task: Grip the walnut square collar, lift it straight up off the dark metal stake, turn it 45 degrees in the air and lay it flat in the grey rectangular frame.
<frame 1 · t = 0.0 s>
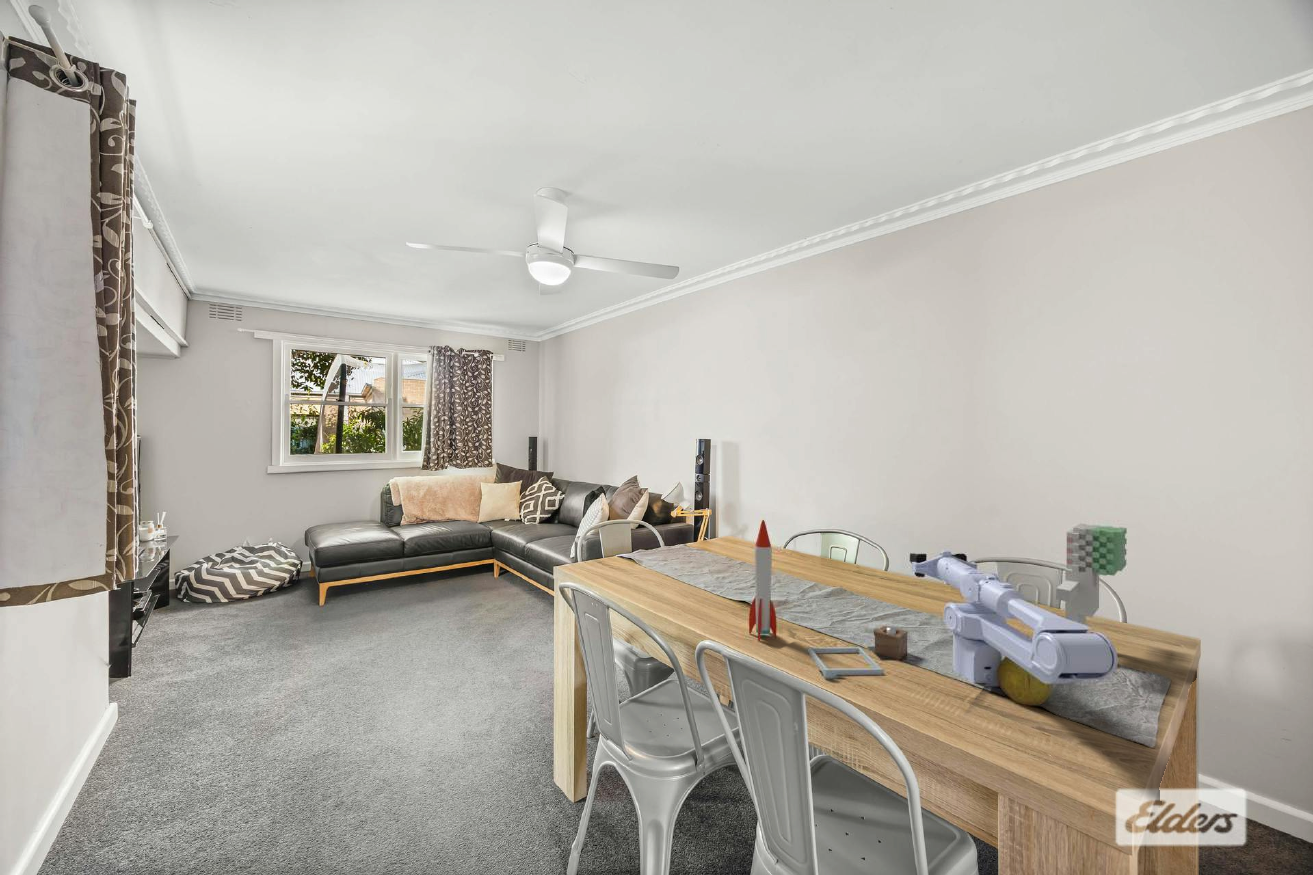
hand: (926, 557, 137), 21 cm above the table, tool horizontal, fingers open, 7 cm apart
fruit: (1022, 700, 108), on the table, touching arm
grey rectangular frame: (843, 666, 122), on the table
stake: (891, 657, 127), on the table
toy rocket: (762, 636, 141), on the table
collar: (891, 652, 127), point 1 cm above the table, touching stake
toy: (1095, 655, 129), on the table
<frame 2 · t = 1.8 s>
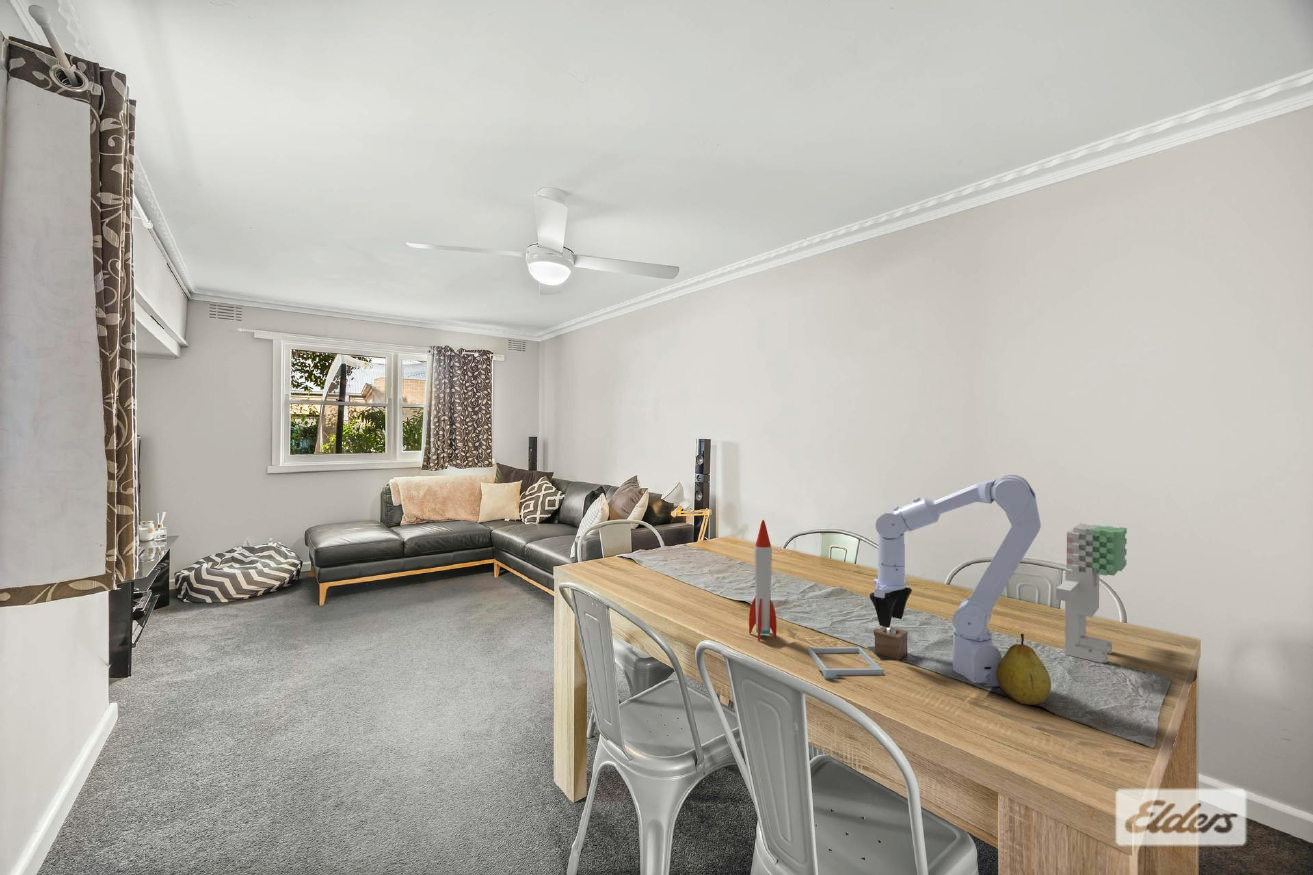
hand: (890, 621, 127), 8 cm above the table, tool pointing down, fingers open, 7 cm apart
fruit: (1023, 699, 108), on the table
everything else where it was.
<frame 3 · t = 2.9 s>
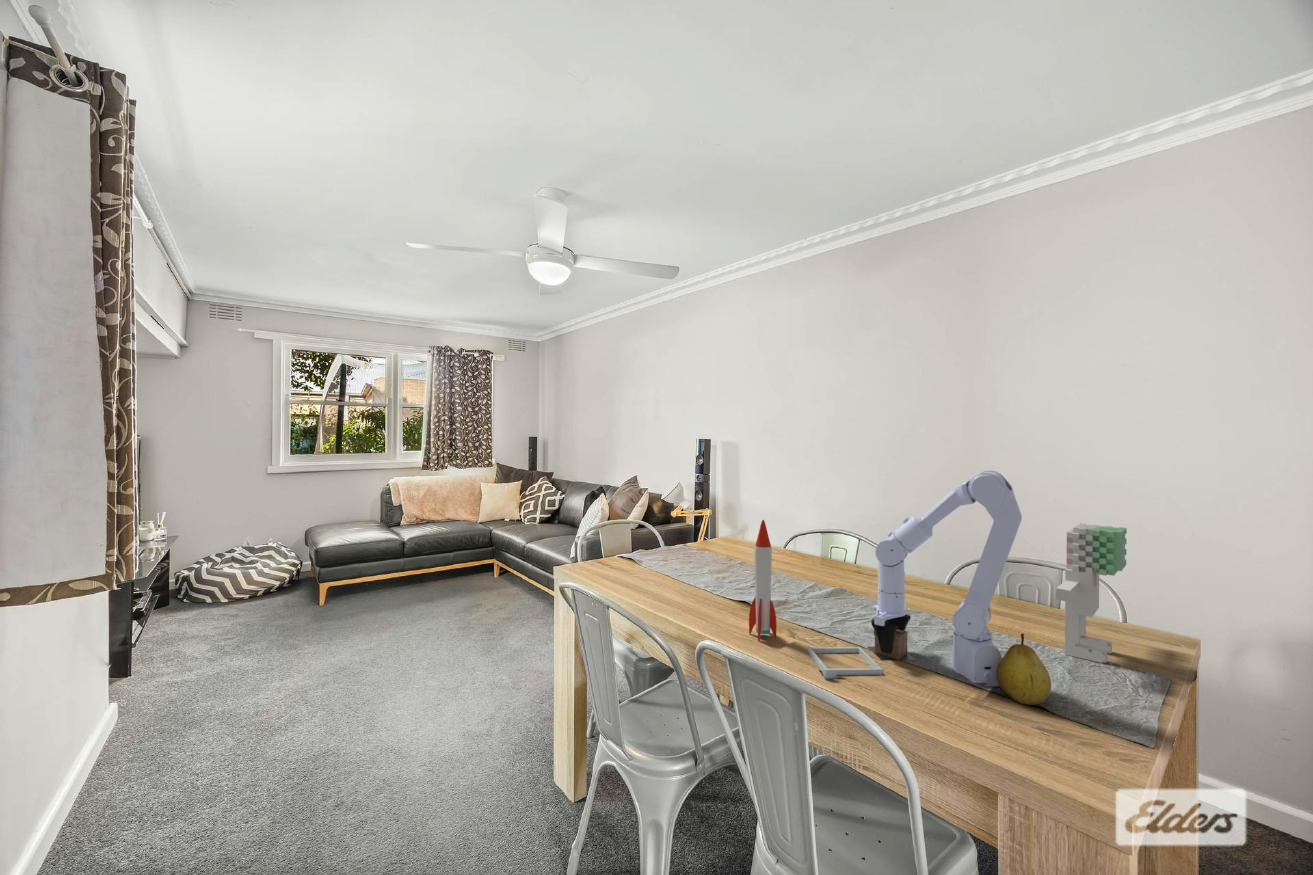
hand: (891, 648, 127), 2 cm above the table, tool pointing down, fingers closed on collar, 5 cm apart
collar: (891, 652, 127), point 1 cm above the table, touching gripper, stake
everything else where it was.
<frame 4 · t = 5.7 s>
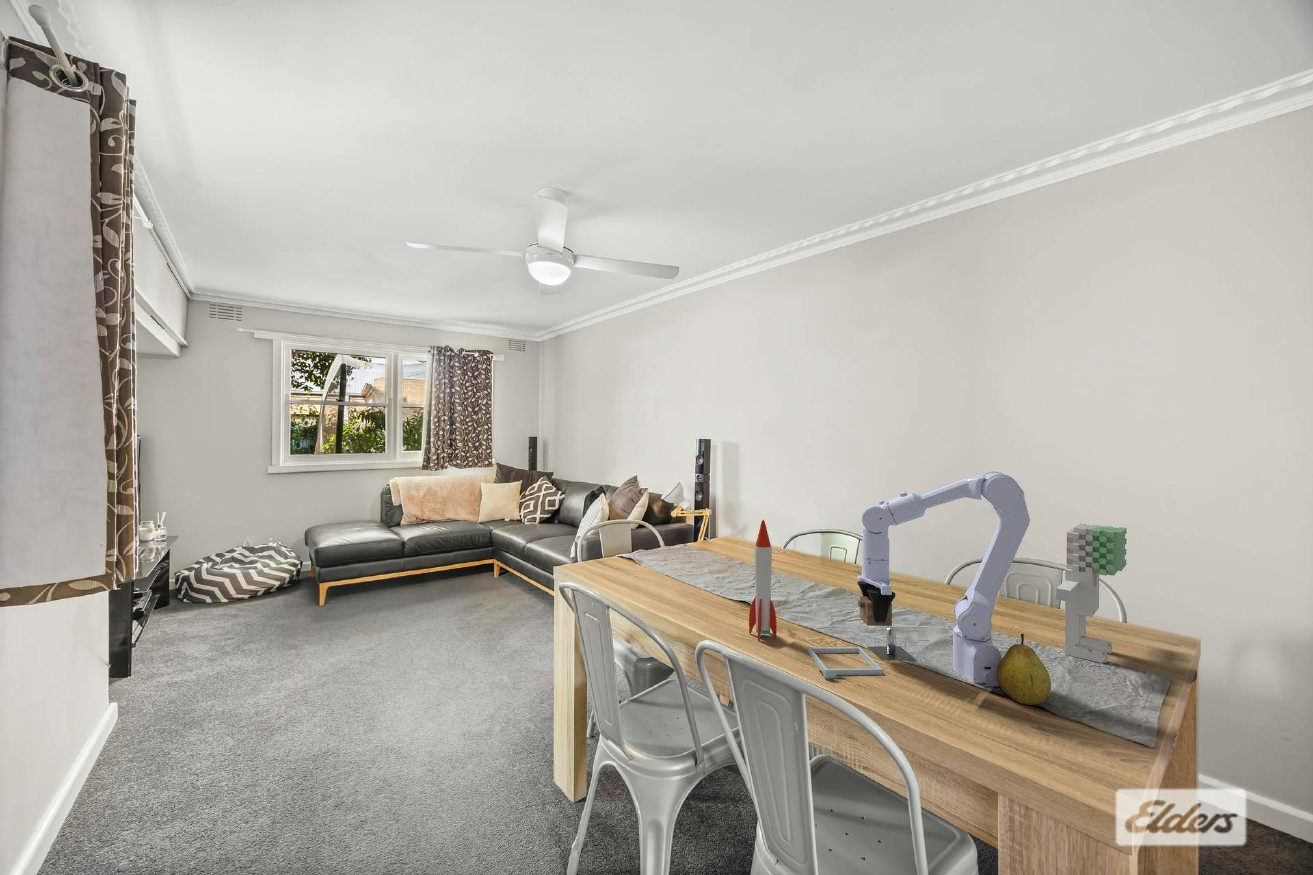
hand: (875, 617, 126), 10 cm above the table, tool pointing down, fingers closed on collar, 5 cm apart
collar: (875, 621, 126), point 9 cm above the table, touching gripper
everything else where it was.
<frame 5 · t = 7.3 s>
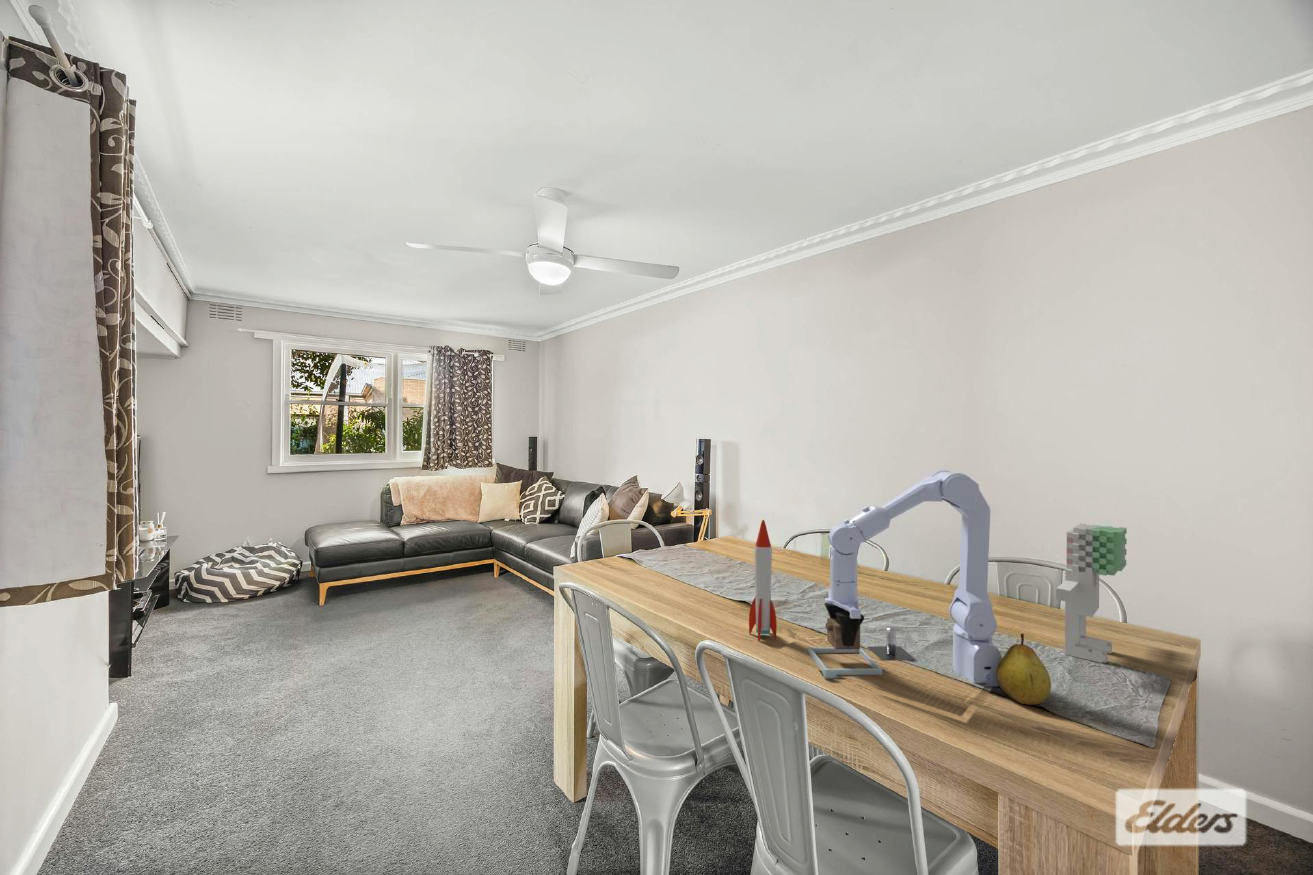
hand: (843, 640, 122), 6 cm above the table, tool pointing down, fingers closed on collar, 5 cm apart
collar: (843, 644, 122), point 5 cm above the table, touching gripper
everything else where it was.
when the fingers open (3 cm above the table, at t = 8.4 s): collar drops 1 cm, resting on grey rectangular frame.
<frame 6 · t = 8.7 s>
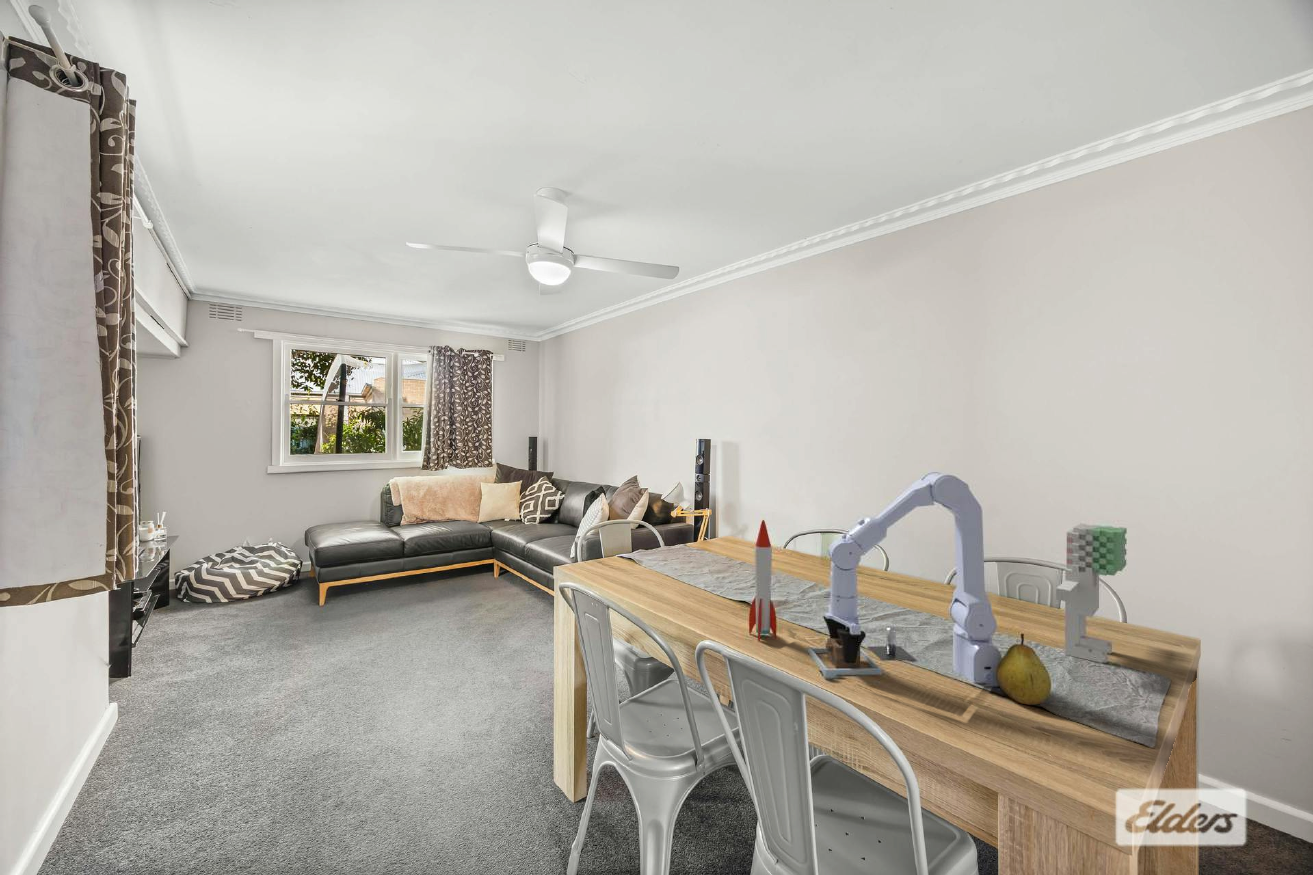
hand: (843, 655, 122), 3 cm above the table, tool pointing down, fingers open, 7 cm apart
collar: (843, 665, 122), resting on grey rectangular frame
everything else where it was.
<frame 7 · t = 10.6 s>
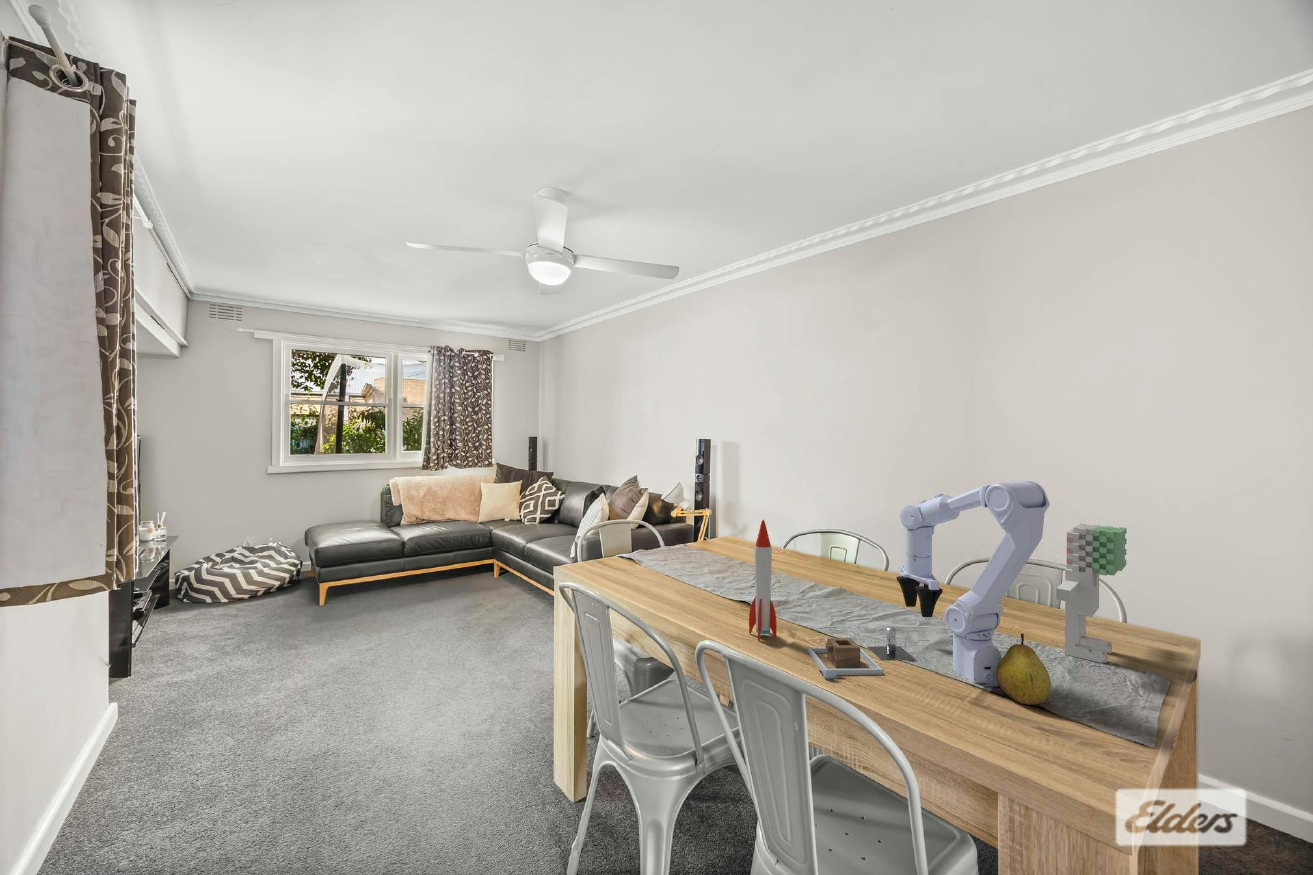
hand: (918, 611, 131), 9 cm above the table, tool pointing down, fingers open, 7 cm apart
nothing on the table moved.
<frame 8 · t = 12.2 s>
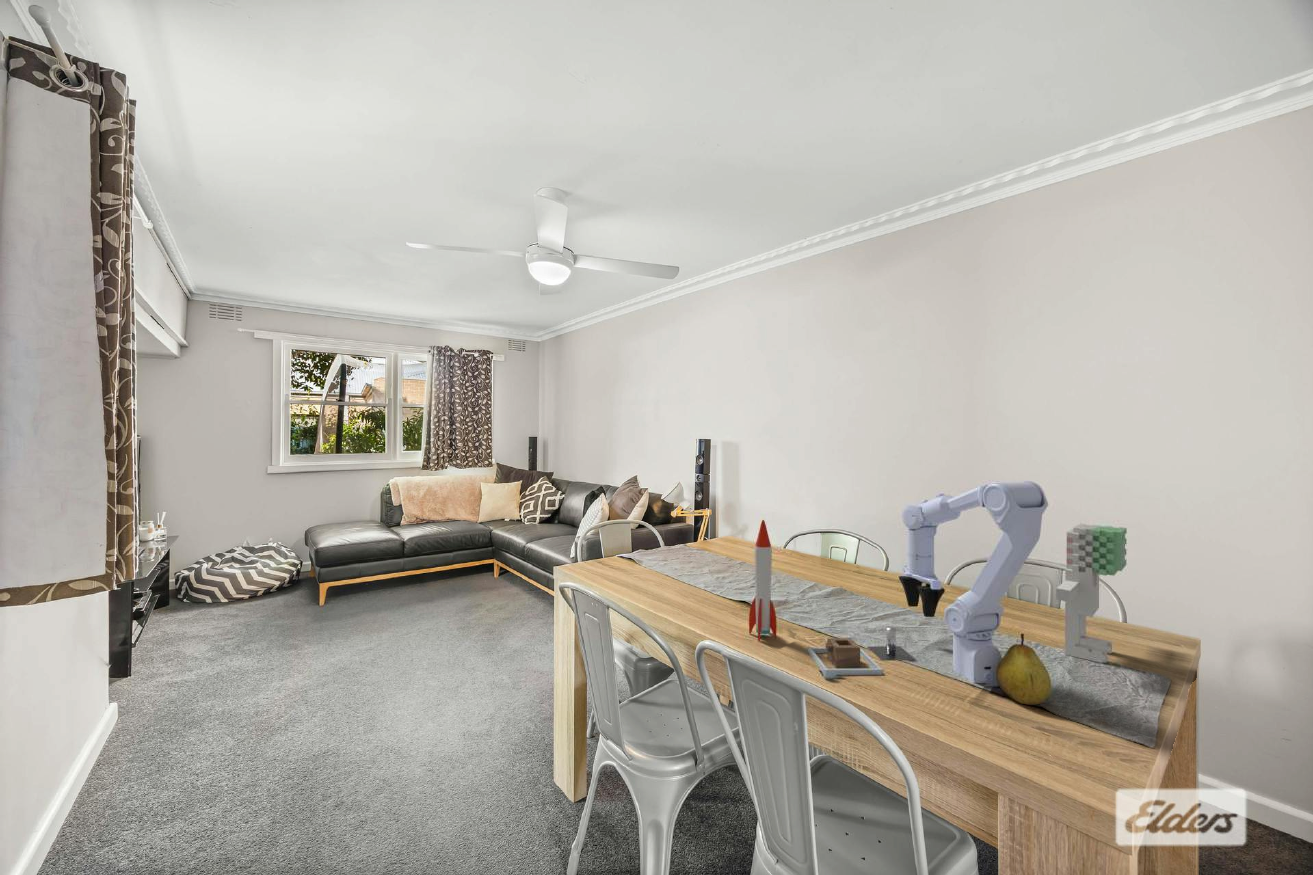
hand: (920, 611, 132), 9 cm above the table, tool pointing down, fingers open, 7 cm apart
nothing on the table moved.
at the end: collar 0.0 cm off-centre on the grey rectangular frame, point 0.4 cm above the grey rectangular frame's base; collar tilted 0°; the gripper is holding nothing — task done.
